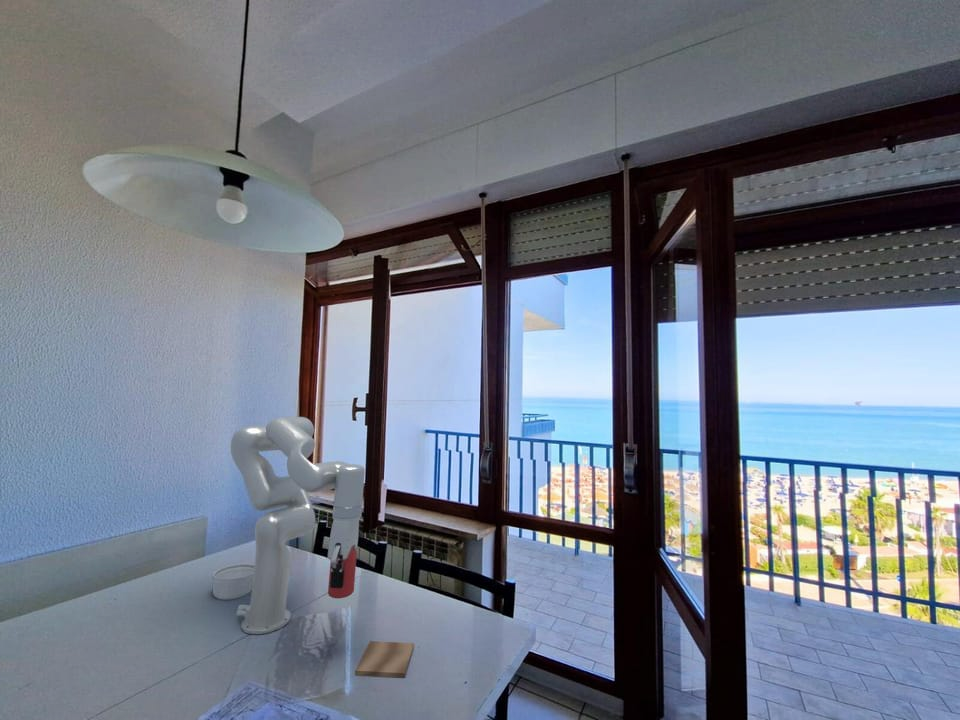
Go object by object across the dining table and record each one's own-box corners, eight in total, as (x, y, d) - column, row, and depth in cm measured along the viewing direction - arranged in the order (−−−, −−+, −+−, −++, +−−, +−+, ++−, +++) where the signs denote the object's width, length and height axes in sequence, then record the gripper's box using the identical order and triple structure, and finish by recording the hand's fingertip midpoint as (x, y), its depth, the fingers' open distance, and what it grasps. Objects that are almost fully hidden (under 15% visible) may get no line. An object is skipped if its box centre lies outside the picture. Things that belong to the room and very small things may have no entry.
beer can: (345, 601, 97) (349, 551, 99) (322, 597, 99) (326, 548, 100) (358, 589, 104) (362, 543, 105) (336, 586, 105) (340, 540, 107)
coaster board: (354, 675, 91) (355, 670, 91) (369, 644, 103) (370, 641, 103) (404, 677, 91) (404, 673, 91) (413, 647, 103) (413, 643, 103)
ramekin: (263, 591, 131) (266, 569, 132) (221, 606, 120) (224, 582, 121) (244, 580, 138) (246, 560, 139) (202, 594, 127) (205, 572, 128)
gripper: (345, 503, 113) (340, 567, 110) (320, 519, 96) (313, 596, 93) (370, 504, 113) (366, 568, 110) (349, 520, 95) (343, 597, 93)
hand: (341, 580), depth 102 cm, fingers closed on beer can, 6 cm apart
